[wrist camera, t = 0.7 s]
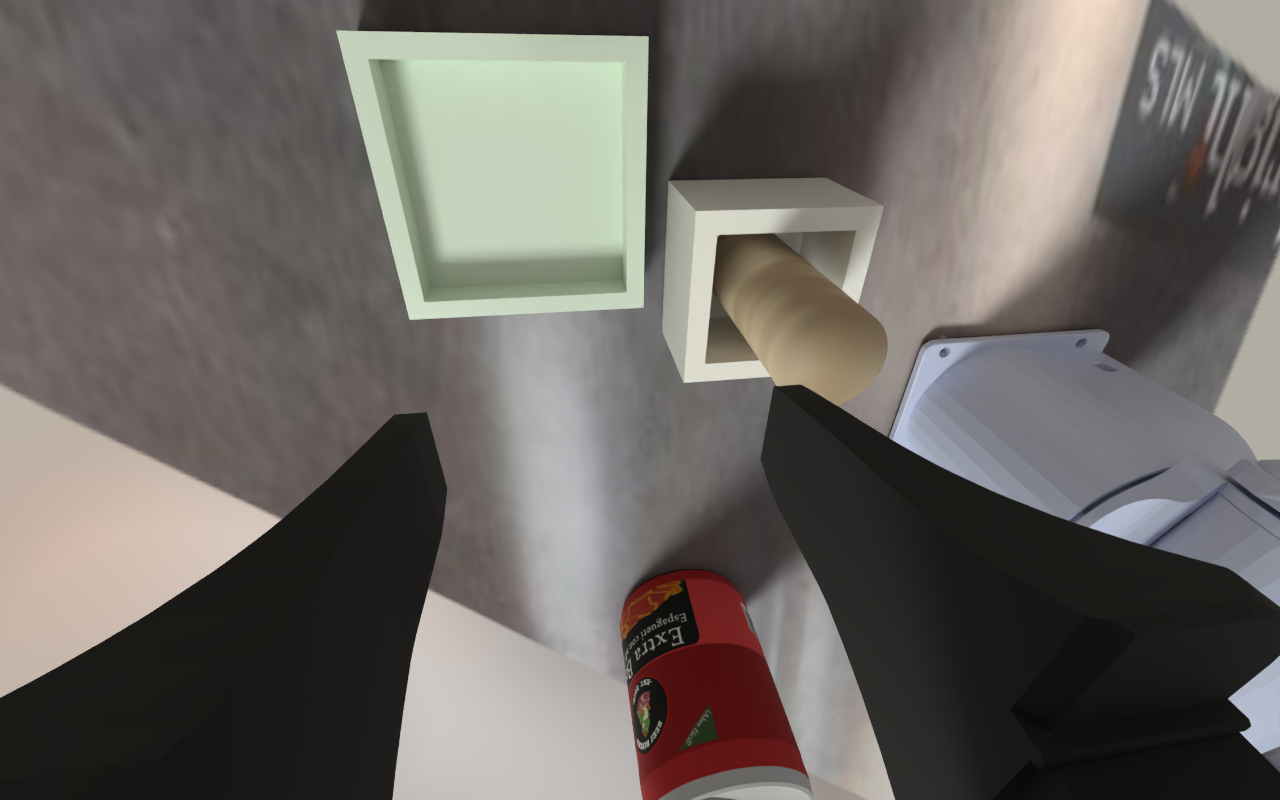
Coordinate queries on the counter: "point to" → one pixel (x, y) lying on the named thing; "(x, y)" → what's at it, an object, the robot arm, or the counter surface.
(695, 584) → the canned food
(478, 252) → the tray
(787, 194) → the white open box
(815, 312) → the dowel
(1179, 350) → the counter surface
